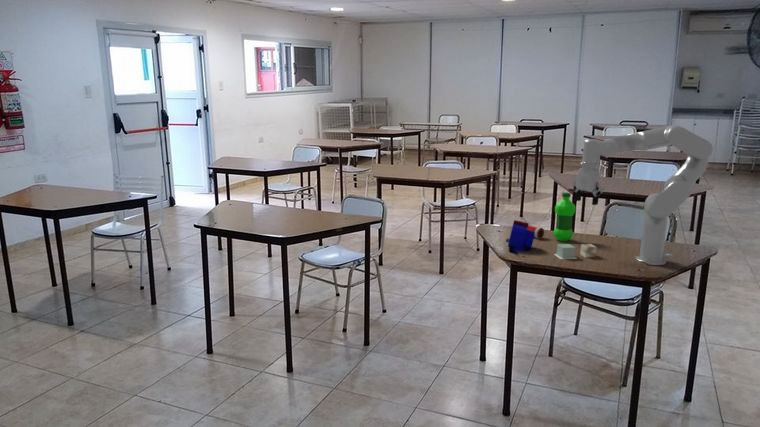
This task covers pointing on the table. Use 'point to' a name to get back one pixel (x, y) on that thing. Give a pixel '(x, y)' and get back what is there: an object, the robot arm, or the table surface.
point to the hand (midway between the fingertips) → (586, 202)
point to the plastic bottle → (564, 218)
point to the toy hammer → (538, 232)
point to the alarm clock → (520, 237)
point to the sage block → (565, 251)
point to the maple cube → (588, 250)
